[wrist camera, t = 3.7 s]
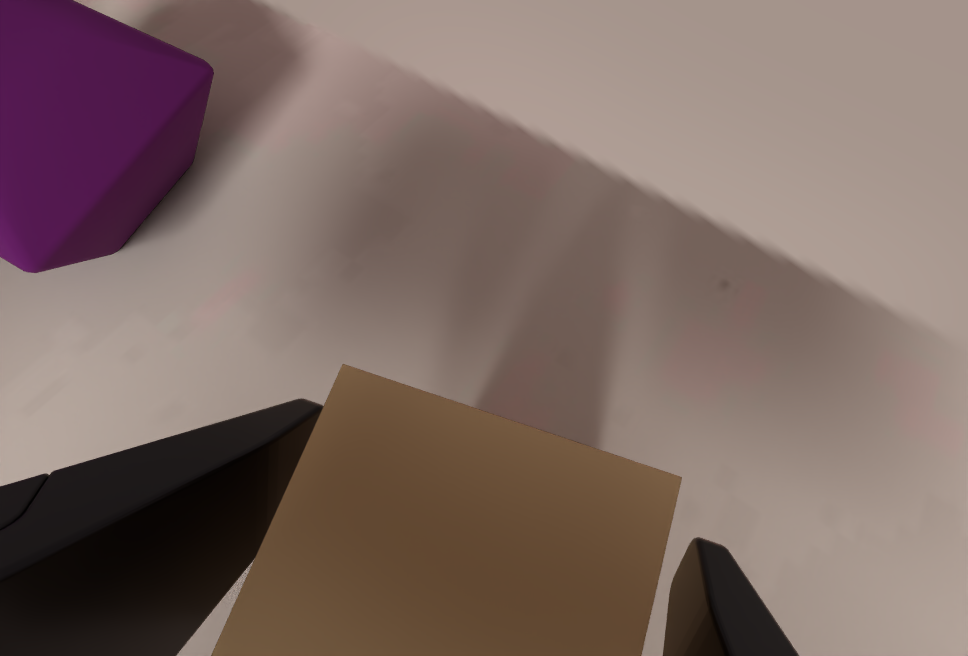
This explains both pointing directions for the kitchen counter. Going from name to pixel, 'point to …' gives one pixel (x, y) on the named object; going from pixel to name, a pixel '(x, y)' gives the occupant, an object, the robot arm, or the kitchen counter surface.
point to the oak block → (451, 538)
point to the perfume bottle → (88, 130)
